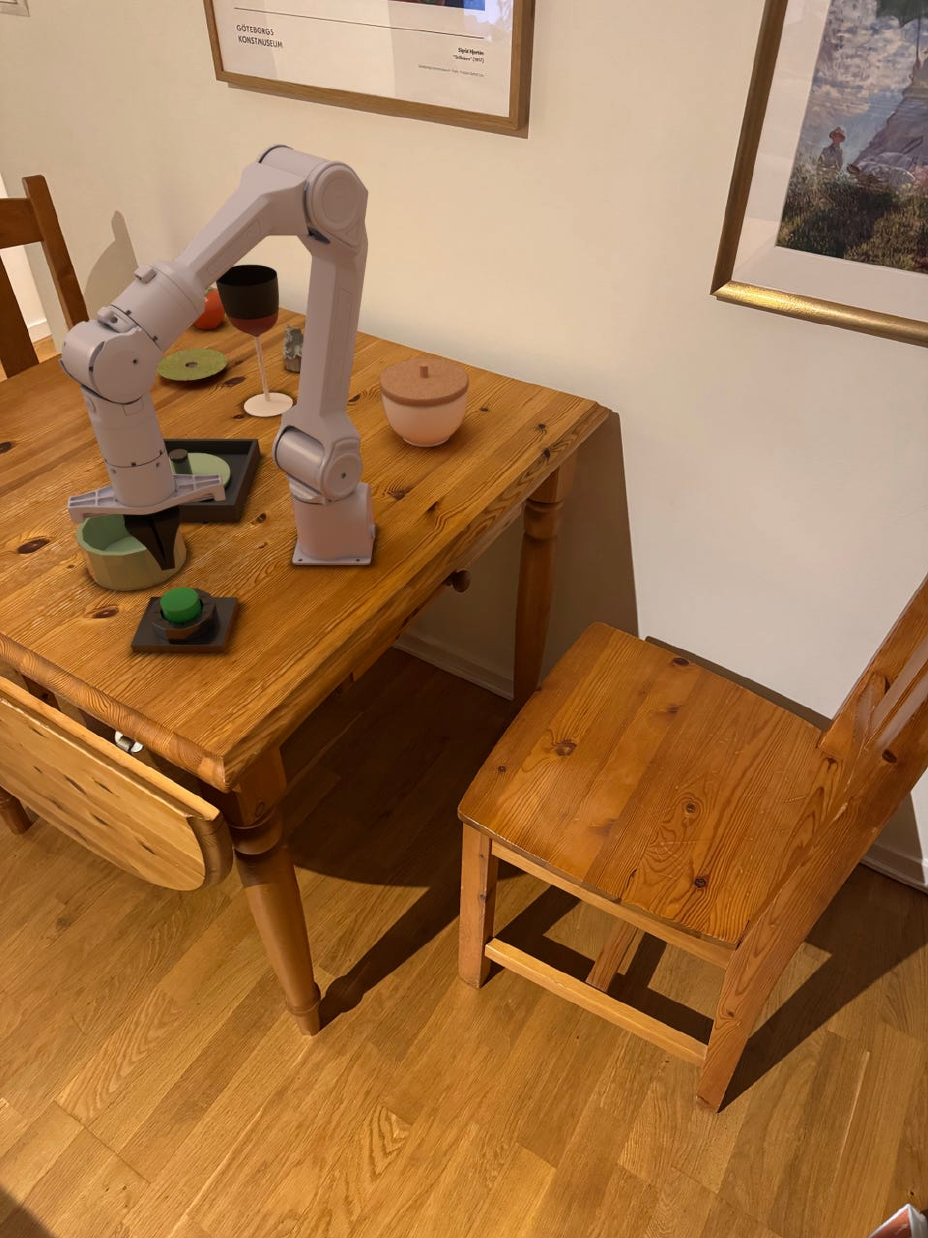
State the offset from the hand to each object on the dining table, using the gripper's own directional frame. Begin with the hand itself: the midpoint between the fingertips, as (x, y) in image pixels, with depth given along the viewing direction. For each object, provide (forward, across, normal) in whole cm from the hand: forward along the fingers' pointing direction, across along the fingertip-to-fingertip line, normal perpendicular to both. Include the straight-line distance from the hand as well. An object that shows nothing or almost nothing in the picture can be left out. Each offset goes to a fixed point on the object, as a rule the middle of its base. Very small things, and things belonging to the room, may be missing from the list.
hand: (168, 563), depth 90 cm
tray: (+9, -2, -29) cm, 30 cm away
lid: (+8, -2, -29) cm, 30 cm away
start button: (+7, 0, 0) cm, 7 cm away
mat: (+9, -4, -62) cm, 63 cm away
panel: (+9, 0, 0) cm, 9 cm away
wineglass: (+9, -15, -49) cm, 52 cm away
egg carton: (+9, -23, -63) cm, 68 cm away
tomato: (+9, -8, -81) cm, 82 cm away
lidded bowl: (+9, -36, -33) cm, 50 cm away
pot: (+9, +5, -14) cm, 18 cm away
